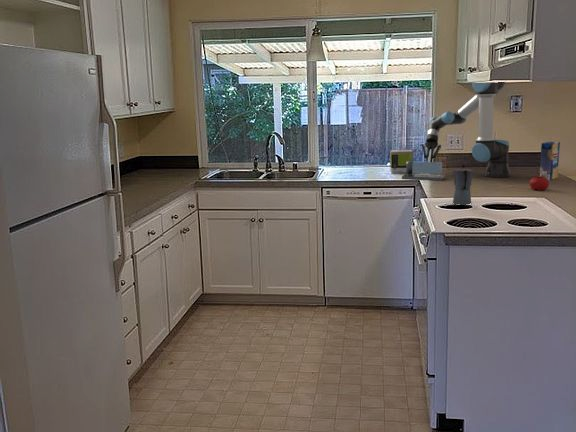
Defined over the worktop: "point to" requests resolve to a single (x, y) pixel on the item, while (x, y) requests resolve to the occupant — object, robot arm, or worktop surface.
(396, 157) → the tea box
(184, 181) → the worktop surface
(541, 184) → the pomegranate
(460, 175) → the moka pot
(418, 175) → the plate
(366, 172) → the worktop surface
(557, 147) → the beverage box
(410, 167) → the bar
